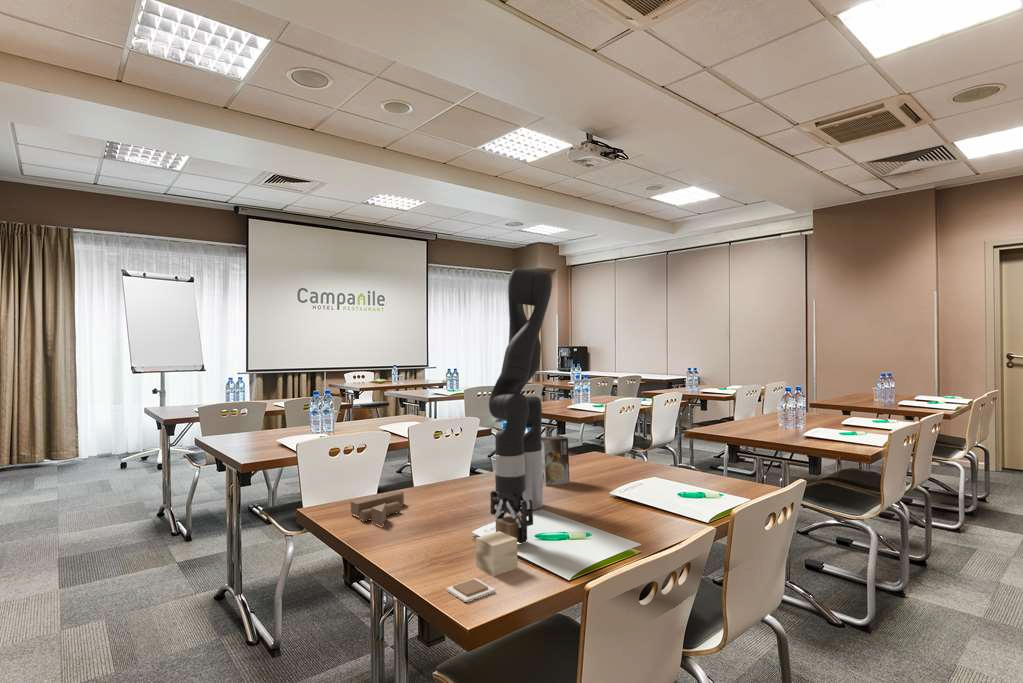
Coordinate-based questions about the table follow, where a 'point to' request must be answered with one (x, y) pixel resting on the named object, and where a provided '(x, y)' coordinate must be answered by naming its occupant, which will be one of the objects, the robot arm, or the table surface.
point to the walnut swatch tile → (470, 590)
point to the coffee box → (555, 460)
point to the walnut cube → (508, 526)
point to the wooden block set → (378, 506)
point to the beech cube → (496, 553)
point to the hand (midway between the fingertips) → (511, 537)
